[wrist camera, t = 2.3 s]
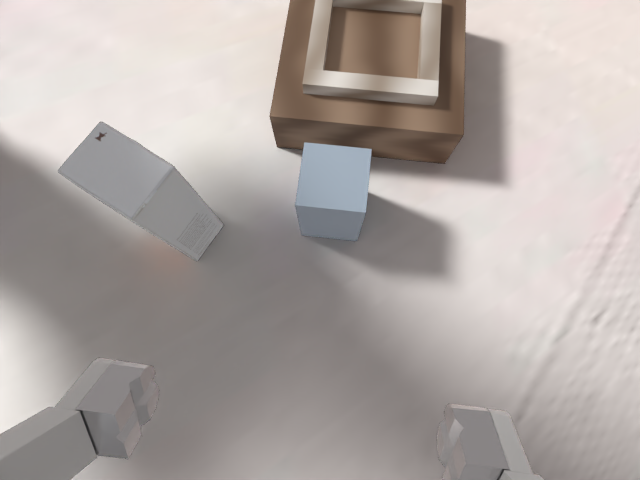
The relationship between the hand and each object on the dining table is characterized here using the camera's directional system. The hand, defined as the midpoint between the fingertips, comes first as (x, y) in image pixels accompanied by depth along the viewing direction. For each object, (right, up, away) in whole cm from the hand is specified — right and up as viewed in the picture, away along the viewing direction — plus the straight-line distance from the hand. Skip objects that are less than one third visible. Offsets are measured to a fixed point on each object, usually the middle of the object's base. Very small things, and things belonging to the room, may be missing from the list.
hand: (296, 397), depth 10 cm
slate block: (+2, +7, +24) cm, 25 cm away
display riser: (+5, +20, +27) cm, 34 cm away
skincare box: (-11, +5, +24) cm, 27 cm away
